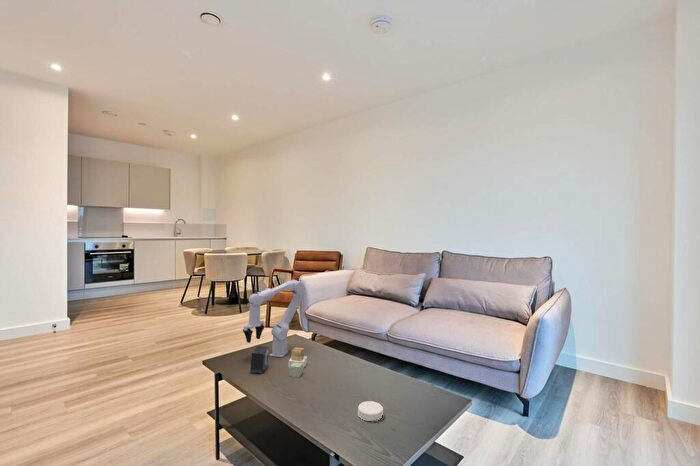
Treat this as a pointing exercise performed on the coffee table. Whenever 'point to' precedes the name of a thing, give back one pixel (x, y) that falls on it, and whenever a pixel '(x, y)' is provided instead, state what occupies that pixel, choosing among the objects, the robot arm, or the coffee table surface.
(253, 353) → the small box
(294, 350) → the oak cube
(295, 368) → the sage cube
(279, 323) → the robot arm
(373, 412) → the coaster
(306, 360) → the base block
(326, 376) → the coffee table surface
